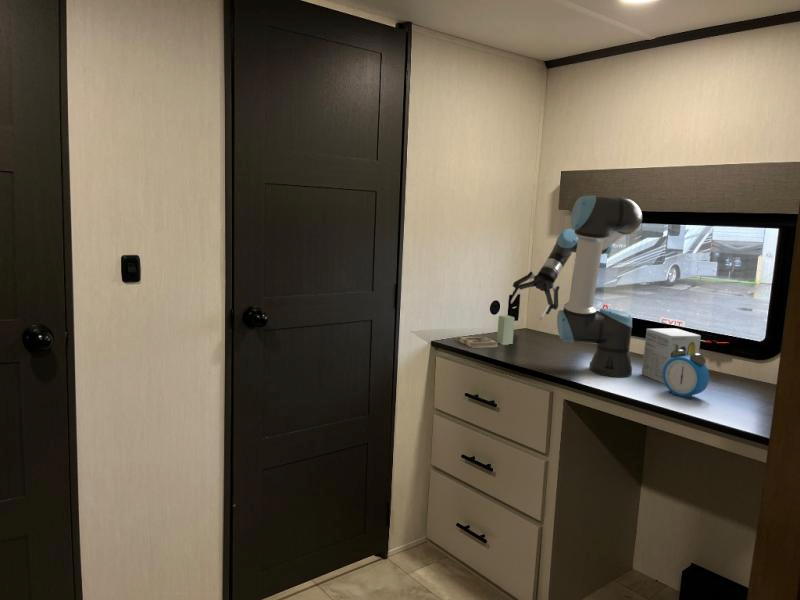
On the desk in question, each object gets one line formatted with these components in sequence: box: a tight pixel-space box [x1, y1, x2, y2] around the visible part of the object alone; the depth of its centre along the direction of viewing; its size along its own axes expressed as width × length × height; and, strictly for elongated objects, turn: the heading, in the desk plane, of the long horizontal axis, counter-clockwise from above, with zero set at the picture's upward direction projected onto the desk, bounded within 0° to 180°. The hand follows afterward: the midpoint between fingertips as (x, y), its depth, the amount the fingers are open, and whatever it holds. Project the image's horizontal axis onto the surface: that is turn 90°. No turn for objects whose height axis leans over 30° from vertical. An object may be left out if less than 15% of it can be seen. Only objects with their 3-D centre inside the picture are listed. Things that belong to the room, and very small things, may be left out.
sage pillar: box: [496, 315, 516, 346], centre depth 266 cm, size 5×5×12 cm
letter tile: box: [459, 336, 499, 349], centre depth 262 cm, size 12×12×2 cm
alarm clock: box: [663, 349, 710, 400], centre depth 200 cm, size 13×6×15 cm, turn 35°
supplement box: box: [641, 327, 702, 385], centre depth 220 cm, size 13×13×18 cm
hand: (526, 310), depth 246 cm, fingers open, 13 cm apart
